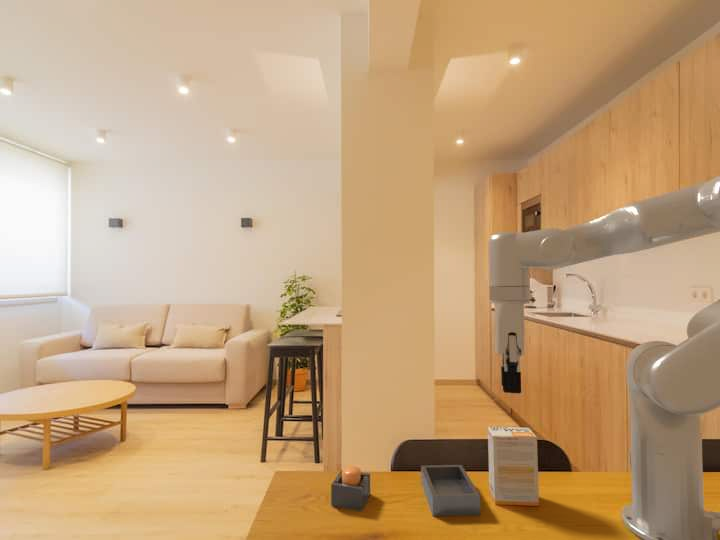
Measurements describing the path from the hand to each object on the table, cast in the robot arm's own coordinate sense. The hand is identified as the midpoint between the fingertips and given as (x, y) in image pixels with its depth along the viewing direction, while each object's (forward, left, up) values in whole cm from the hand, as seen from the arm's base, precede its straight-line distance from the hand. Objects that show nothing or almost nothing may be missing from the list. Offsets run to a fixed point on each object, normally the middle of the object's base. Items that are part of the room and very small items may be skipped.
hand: (511, 388), depth 75 cm
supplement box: (0, 0, -21) cm, 21 cm away
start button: (+30, +9, -20) cm, 37 cm away
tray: (+12, +3, -21) cm, 24 cm away
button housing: (+30, +9, -21) cm, 38 cm away
